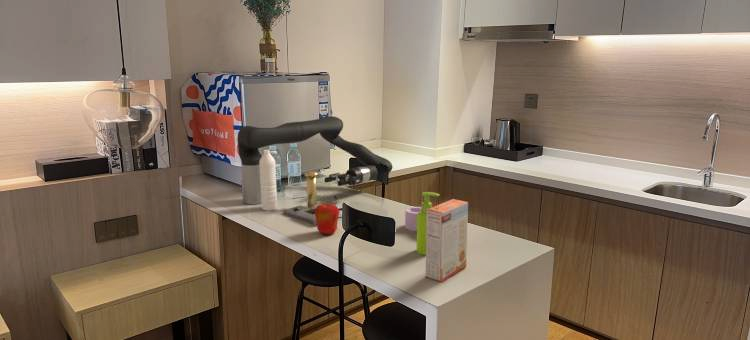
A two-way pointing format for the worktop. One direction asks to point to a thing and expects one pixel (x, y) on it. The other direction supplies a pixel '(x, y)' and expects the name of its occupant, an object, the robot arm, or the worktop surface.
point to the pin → (311, 188)
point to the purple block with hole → (411, 218)
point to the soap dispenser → (423, 222)
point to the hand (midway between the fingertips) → (331, 182)
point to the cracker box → (446, 239)
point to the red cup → (327, 218)
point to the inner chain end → (293, 213)
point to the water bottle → (268, 181)
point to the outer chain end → (308, 214)
